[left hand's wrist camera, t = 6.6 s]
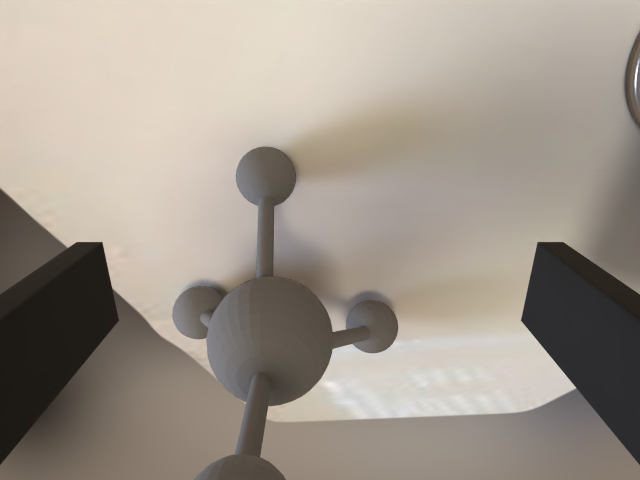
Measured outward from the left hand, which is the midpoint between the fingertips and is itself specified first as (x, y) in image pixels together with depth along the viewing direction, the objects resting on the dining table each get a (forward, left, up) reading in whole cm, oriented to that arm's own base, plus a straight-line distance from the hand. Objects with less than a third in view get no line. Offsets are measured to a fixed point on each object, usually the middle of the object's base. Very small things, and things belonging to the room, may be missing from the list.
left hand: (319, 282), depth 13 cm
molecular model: (-5, +10, -29) cm, 31 cm away
